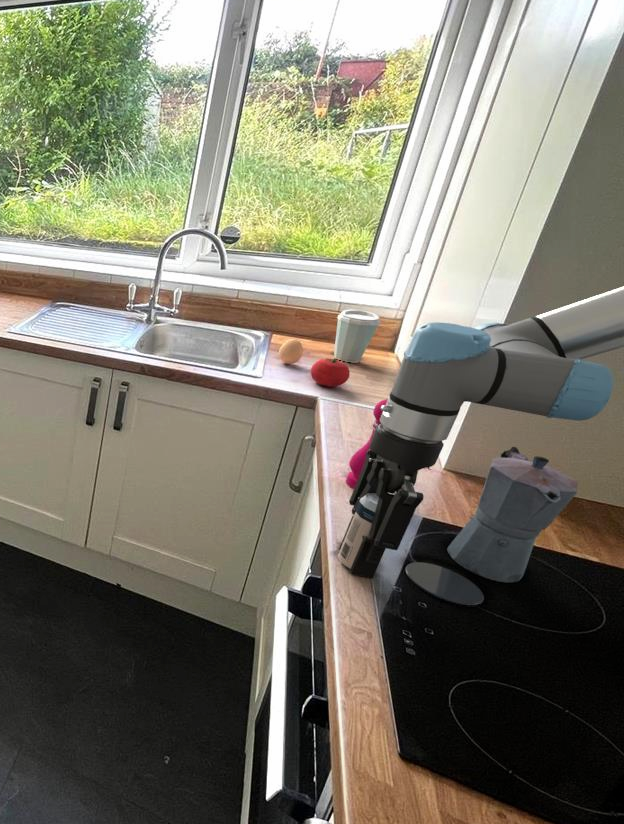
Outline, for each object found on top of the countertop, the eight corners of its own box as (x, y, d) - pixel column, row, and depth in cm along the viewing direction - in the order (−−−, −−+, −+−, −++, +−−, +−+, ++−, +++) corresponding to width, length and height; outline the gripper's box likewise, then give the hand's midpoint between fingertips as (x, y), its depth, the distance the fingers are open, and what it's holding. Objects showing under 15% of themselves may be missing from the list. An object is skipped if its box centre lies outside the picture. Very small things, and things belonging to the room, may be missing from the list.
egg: (273, 363, 176) (280, 338, 173) (279, 358, 180) (286, 334, 177) (295, 368, 172) (303, 343, 169) (301, 364, 176) (309, 339, 173)
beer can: (369, 579, 88) (398, 514, 83) (332, 563, 91) (358, 499, 86) (377, 566, 91) (405, 502, 86) (341, 550, 94) (366, 488, 89)
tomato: (350, 387, 160) (360, 360, 157) (336, 393, 156) (346, 365, 152) (315, 376, 167) (324, 350, 164) (301, 382, 162) (309, 355, 159)
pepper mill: (342, 473, 117) (377, 382, 109) (387, 485, 113) (426, 392, 105) (342, 488, 111) (378, 393, 104) (389, 502, 108) (430, 405, 100)
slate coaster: (495, 596, 86) (496, 594, 85) (463, 614, 82) (464, 611, 82) (424, 558, 93) (425, 556, 93) (392, 573, 89) (393, 571, 89)
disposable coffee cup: (367, 368, 175) (384, 320, 169) (324, 360, 180) (340, 314, 174) (364, 358, 183) (381, 312, 177) (323, 351, 188) (338, 306, 183)
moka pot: (466, 585, 87) (525, 471, 80) (423, 527, 101) (470, 424, 93) (547, 603, 84) (617, 487, 77) (492, 541, 98) (547, 436, 90)
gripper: (358, 402, 91) (312, 525, 100) (404, 455, 75) (345, 595, 84) (415, 411, 88) (363, 536, 97) (475, 468, 73) (407, 610, 82)
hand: (355, 563), depth 91 cm, fingers closed on beer can, 5 cm apart
